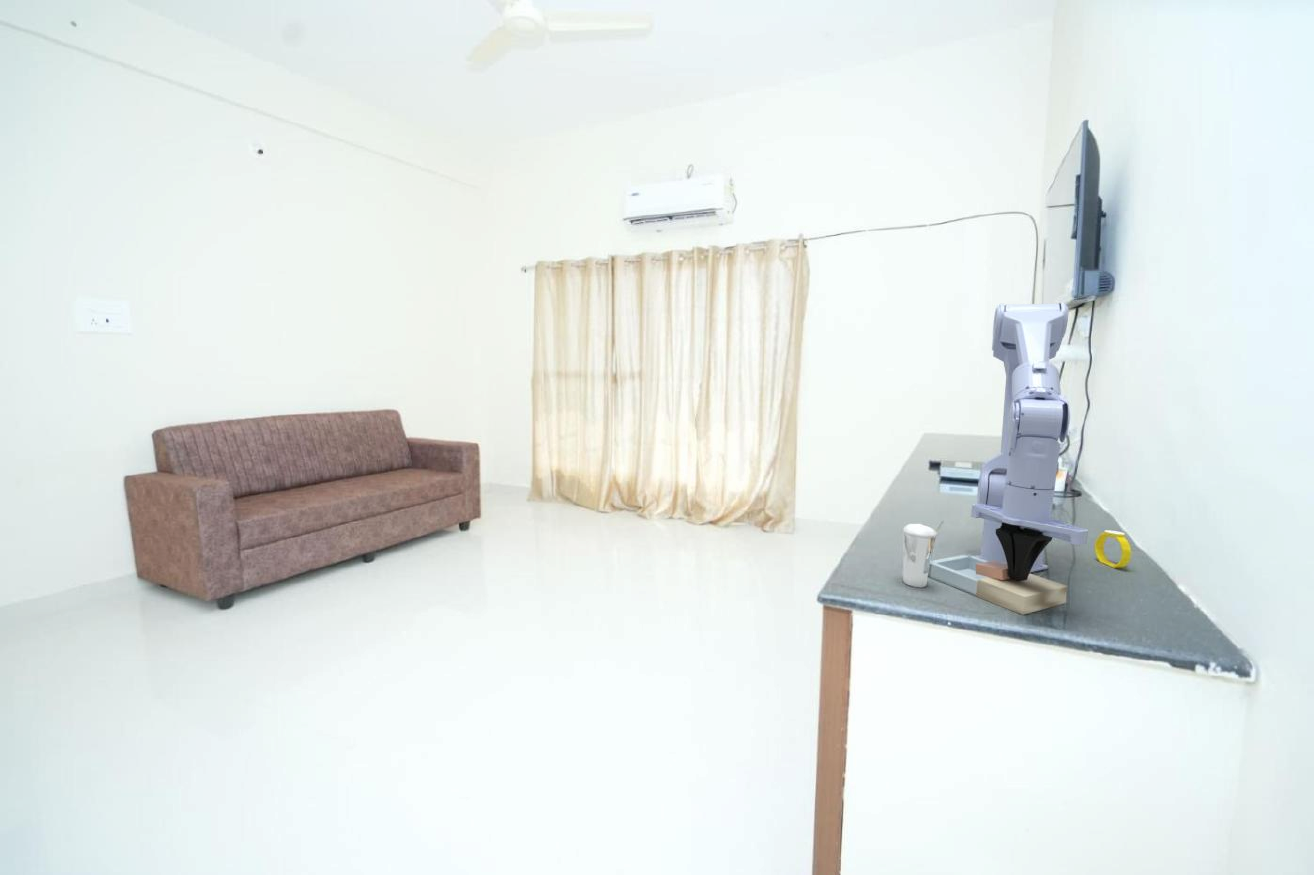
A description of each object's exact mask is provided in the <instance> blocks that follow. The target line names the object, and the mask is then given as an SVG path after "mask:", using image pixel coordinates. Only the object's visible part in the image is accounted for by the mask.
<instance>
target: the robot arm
mask: <svg viewBox="0 0 1314 875" xmlns="http://www.w3.org/2000/svg"><path fill="white" fill-rule="evenodd" d="M993 319H994V320H993V324H992V325H993V326H992V342H991V345H992V346H991V351H993V352H992V357H994V358H996V359H997V360H999V361H1001V362H1003V366H1004V372H1005V388H1004V389H1005V390H1004V401H1003V402H1004V403H1003V416H1002V417H1003V418H1002V428H1001V429H1002V430H1001V440H1000V441H1001V445H1000V453H999V454H997V455H995V456H994V457H991V458H990V459H988V460H986V461H985V462H983V464H982V465H981V467H980V472H979V477H978V478H979V479H978V483H977V484H978V485H977V493H976V494H977V495H976V498H977V499H976V504H975V503H974V504H971V511H970V512H971V513H970V517H971V518H975V519H983V527H982V537H981V544H980V554H979V555H973V556H974V557H977V558H980V559H983V560H986V561H997V562H1002V563H1007V566H1008V572H1009V578H1010V579H1013V580H1016V581H1019V582H1020V581H1024V580H1027V578H1028V576H1029V573H1030V574H1031V573H1034V572H1039V571H1042V570H1047V569H1049V565H1047V564H1045V563H1043V560H1044V553H1045V548H1046V547H1047V546H1048V545H1049V544H1050V543H1051V541H1053V539H1056V540H1060V541H1065V542H1068V543H1069V544H1071V545H1074V546H1083V545H1084V546H1085V545H1087V544H1088V543H1087V542H1088V536H1089V529H1085V528H1082V527H1079V526H1076V525H1073V524H1070V523H1066V522H1063V521H1060V520H1057V519H1055V518H1052V513H1053V505H1054V496H1055V489H1056V488H1055V487H1056V483H1057V482H1056V480H1057V473H1058V465H1059V457H1060V449H1061V444H1060V443H1064V442H1065V440H1066V438H1067V436H1068V432H1069V428H1070V422H1071V412H1070V411H1071V410H1070V403H1069V401H1068V399H1066V395H1062V394H1061V384H1060V383H1061V382H1060V381H1061V380H1060V372H1059V369H1058V368H1057V366H1056V365H1054V364H1053V363H1051V362H1050V360H1052V359H1055V358H1056V356H1057V353H1058V352H1059V351H1060V349H1061V348H1060V347H1061V345H1062V342H1063V338H1064V337H1065V335H1066V332H1067V327H1068V322H1069V307H1068V305H1066V303H1065V302H1062V301H1061V302H1059V303H1021V304H1020V303H1018V304H1016V303H1015V304H1014V303H1013V304H1005V303H1000V304H999V305H997V307H996V308H995V312H994V318H993ZM1059 441H1060V442H1059Z"/></svg>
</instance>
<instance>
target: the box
mask: <svg viewBox="0 0 1314 875" xmlns="http://www.w3.org/2000/svg"><path fill="white" fill-rule="evenodd" d="M974 556H975V555H971V554H960V555H955V556H949V557H944V558H941V559H936V560H935V559H934V560H931V561H930V567H929V572H928V578H931V579H934V580H936V581H938V582H941V583H943V584H946V585H948V586H950V587H953V588H955V589H958V590H960V591H963V592H965V593H966V594H970V595H971V596H975V597H977V596H976V592H977V583H978V579H982V578H987V576H983V575H978V574H976V564H978V563H983V562H988V561H986V560H983V559H980V558H977V557H974Z"/></svg>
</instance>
